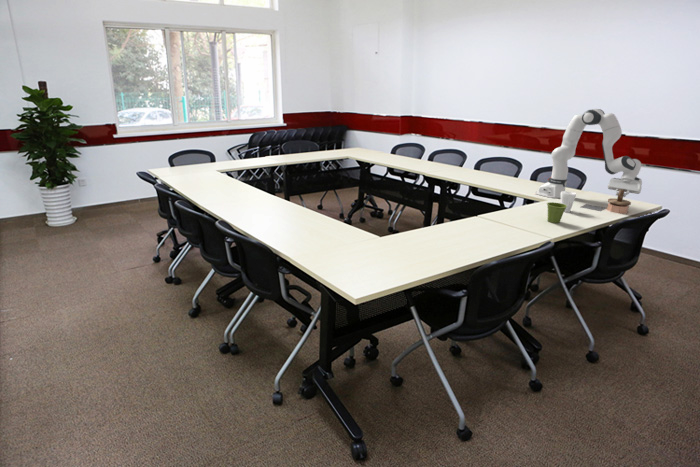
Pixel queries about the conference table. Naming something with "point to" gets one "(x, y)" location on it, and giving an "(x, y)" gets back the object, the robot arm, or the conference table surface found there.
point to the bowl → (617, 208)
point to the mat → (593, 207)
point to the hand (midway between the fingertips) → (620, 195)
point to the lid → (619, 199)
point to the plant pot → (555, 211)
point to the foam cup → (567, 199)
